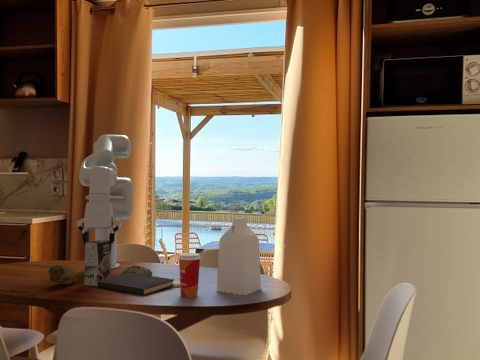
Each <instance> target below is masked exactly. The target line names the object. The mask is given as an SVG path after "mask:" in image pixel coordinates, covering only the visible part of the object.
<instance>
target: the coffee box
mask: <svg viewBox="0 0 480 360" xmlns="http://www.w3.org/2000/svg"><path fill="white" fill-rule="evenodd" d="M84 247H85V249H84V254H85V255H84V281H83V285H84V286H93V287H98V285H97V283H98V281H100V280H104V279H108V278H112V269H111V250H112V244H109V240H97V241H95V240H92V241H89V242H86V244H85V246H84Z"/></svg>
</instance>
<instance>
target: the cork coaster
mask: <svg viewBox="0 0 480 360" xmlns="http://www.w3.org/2000/svg"><path fill="white" fill-rule="evenodd" d="M173 285H174V286H171V287H170V288H175V289H176V288H180V281H173Z"/></svg>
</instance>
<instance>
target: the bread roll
mask: <svg viewBox="0 0 480 360" xmlns="http://www.w3.org/2000/svg"><path fill="white" fill-rule="evenodd" d="M127 273H134V274H141V275H148V276H153V272H152V271H151V269H150V268H147V267H144V266H141V265H131V266H130V267H129V266H128V267H127V268H126V269H124V270H123V271H122V272H121V273H120V274H119V275H123V274H127Z"/></svg>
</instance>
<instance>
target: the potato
mask: <svg viewBox="0 0 480 360" xmlns="http://www.w3.org/2000/svg"><path fill="white" fill-rule="evenodd" d="M47 271H48V277H49V281H50V282H54V283H57V284H61V285H64V286H66V285H71V284H73V283H74V282H75V280H76V279H77V276H76V272H75V271H74V270H72V269H70V268H68V267H67V266H66V265H63V264H55V265H52V266H50V268H48V270H47Z"/></svg>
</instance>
